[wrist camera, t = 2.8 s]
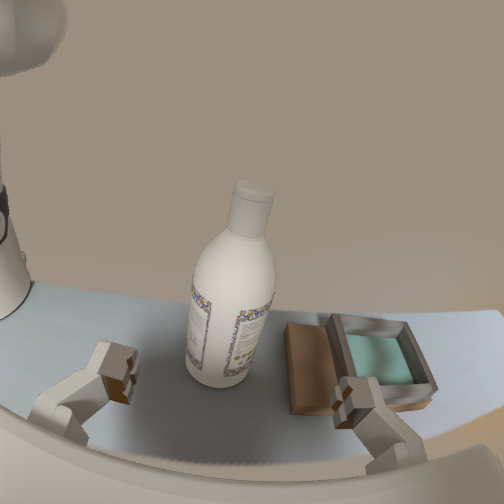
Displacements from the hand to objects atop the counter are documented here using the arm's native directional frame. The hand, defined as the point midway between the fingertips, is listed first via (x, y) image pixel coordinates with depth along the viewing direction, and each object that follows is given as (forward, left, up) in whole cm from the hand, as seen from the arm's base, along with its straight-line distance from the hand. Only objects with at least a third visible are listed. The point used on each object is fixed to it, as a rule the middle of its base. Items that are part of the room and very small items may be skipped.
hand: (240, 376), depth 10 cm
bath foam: (0, +13, -17) cm, 21 cm away
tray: (+17, +14, -17) cm, 27 cm away
